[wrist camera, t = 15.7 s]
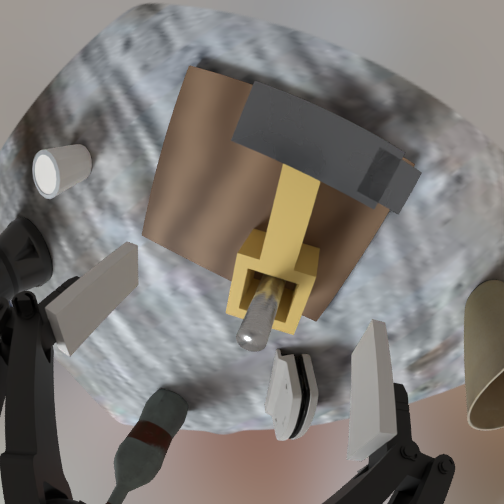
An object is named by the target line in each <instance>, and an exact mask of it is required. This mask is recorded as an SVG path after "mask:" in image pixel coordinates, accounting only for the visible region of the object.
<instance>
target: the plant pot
mask: <svg viewBox="0 0 504 504" xmlns="http://www.w3.org/2000/svg"><path fill="white" fill-rule="evenodd" d="M464 363H465V385H466V401H467V420H468V423H469V425H470V426H471V427H472V428H474V429H477V430H486V431H488V430H495V429H499V428H503V427H504V282H502V281H499V280H489V281H486V282H484V283H482V284H481V285H479V286H478V287H477V288H476V289H475V290H474V291H473V292H472V293H471V295H470V296H469V298H468V300H467V302H466V306H465V317H464Z"/></svg>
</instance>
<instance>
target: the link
mask: <svg viewBox="0 0 504 504" xmlns="http://www.w3.org/2000/svg"><path fill="white" fill-rule="evenodd" d="M320 182H321V181H319V180H317V179H315V178H313V177H311V176H309V175H307V174H305V173H302V172H300V171H298V170H296V169H294V168H292V167H290V166H288V165H285V164H283V166H282V170H281V174H280V179H279V183H278V187H277V191H276V195H275V199H274V204H273V208H272V212H271V216H270V220H269V224H268V228H267V232H263V231H260V230H257V229H253V230H252V232H251V233H250V235H249V236H248V238H247V239H246V241H245V242H244V244H243V245H242V247H241V248H240V250H239V251H238V253H237V257H236V262H235V267H234V273H233V278H232V283H231V288H230V293H229V298H228V303H227V309H226V313H227V314H230V315H233V316H236V317H239V318H242V319H244V317H245V315H246V313H247V310H248V308H249V306H250V304H251V301H252V299H253V297H254V295H255V292H256V290H257V288H258V285H259V283H260V280H257V279H254V273H255V271H258V272H261V273H264V274H268V275H271V276H274V277H277V278H281V279H284V280H287V281H290V282H294V283H296V285H295V288H294V291H293V290H289V289H286V288H284V290H283V293H282V296H281V300H280V303H279V306H278V309H277V313H276V316H275V319H274V322H273V325H272V328H273V329H276V330H279V331H282V332H286V333H289V334H292V335H294V332H295V330H296V328H297V325H298V323H299V320H300V318H301V315H302V313H303V310H304V308H305V305H306V303H307V300H308V298H309V295H310V292H311V290H312V287H313V285H314V282H315V279H316V275H317V268H318V259H319V251H320V248H316V247H313V246H310V245H307V244H303V243H302V242H303V239H304V236H305V232H306V229H307V226H308V223H309V219H310V216H311V213H312V209H313V206H314V202H315V199H316V195H317V192H318V189H319V185H320Z"/></svg>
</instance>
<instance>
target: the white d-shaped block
mask: <svg viewBox="0 0 504 504" xmlns="http://www.w3.org/2000/svg"><path fill="white" fill-rule="evenodd" d="M318 396H319V393H318V387H317V383H316V379H315V375H314V370H313V366H312V362H311V358H310V355H308V354H302V356H301V357H299V360H298V361H297V357H294V354H292V355H285V356H281V352H280V349H276V354H275V359H274V363H273V368H272V373H271V377H270V382H269V387H268V391H267V396H266V400H265V404H264V405H265V412H266V413H267V414H269V415H271V416H272V419H273V424H274V429H275V434H276V438H277V440H287V439H288V438H289V439H291V440H293V439H296V438H300V437H301V436H303V435H304V434H305V433H306V432H307V430H308V428H309V427H310V425H311V422H312V420H313V417H314V414H315V410H316V406H317V402H318Z"/></svg>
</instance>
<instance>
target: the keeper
mask: <svg viewBox="0 0 504 504" xmlns="http://www.w3.org/2000/svg"><path fill="white" fill-rule="evenodd" d="M231 141H233V142H235V143H237V144H240V145H242V146H245V147H247V148H249V149H252V150H254V151H256V152H259V153H261V154H263V155H266V156H268V157H270V158H272V159H275V160H277V161H279V162H281V163H283V164H285V165H288V166H290V167H292V168H294V169H296V170H298V171H300V172H302V173H305V174H307V175H309V176H311V177H313V178H315V179H317V180H319V181H321V182H323V183H325V184H327V185H329V186H331V187H333V188H335V189H337V190H338V191H340V192H342V193H344V194H346V195H348V196H350V197H352V198H354V199H355V200H357V201H359V202H361V203H363V204H365V205H366V206H368V207H370V208H372V209H375V207H376V206H377V204H378V203H379V204H381V205H383V206H385V207H386V208H388V209H390V210H391V211H393V212H395V213H396V214H399V213H400V211H401V209H402V207H403V206H404V204H405V202H406V201H407V199H408V197H409V195H410V193H411V192H412V190H413V188H414V186H415V185H416V183H417V181H418V179H419V177H420V175H421V172H420V171H419V170H417V169H416V168H414V167H413V166H411V165H410V164H408V163H407V162H405V161H404V160H402V158H403V156H404V154H405V152H404V151H402V150H400V149H399V148H397V147H395V146H394V145H392V144H390V143H389V142H387V141H385V140H383V139H382V138H380V137H378V136H376V135H375V134H373V133H371V132H369V131H367V130H366V129H364V128H362V127H360V126H358V125H356V124H354V123H352V122H350V121H348V120H346V119H344V118H342V117H340V116H338V115H336V114H334V113H332V112H330V111H328V110H326V109H324V108H322V107H319V106H317V105H315V104H313V103H310V102H308V101H306V100H304V99H301V98H299V97H296V96H294V95H292V94H289V93H287V92H284V91H282V90H279V89H277V88H274V87H271V86H269V85H266V84H263V83H260V82H258V81H254V84H253V86H252V89H251V91H250V94H249V96H248V98H247V101H246V103H245V106H244V108H243V111H242V113H241V116H240V118H239V121H238V123H237V126H236V129H235V131H234V134H233V136H232V139H231Z"/></svg>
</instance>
